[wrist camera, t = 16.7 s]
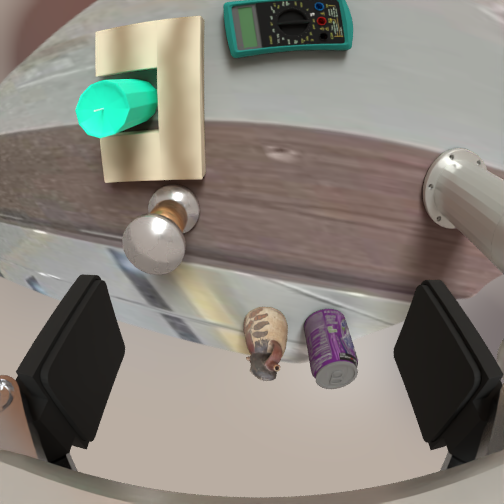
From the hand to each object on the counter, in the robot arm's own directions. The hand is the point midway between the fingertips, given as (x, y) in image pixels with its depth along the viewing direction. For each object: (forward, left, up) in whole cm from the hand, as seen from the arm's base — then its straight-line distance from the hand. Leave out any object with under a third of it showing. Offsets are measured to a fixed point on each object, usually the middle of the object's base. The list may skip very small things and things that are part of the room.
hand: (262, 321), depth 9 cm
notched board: (+13, -5, -33) cm, 36 cm away
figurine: (-2, +30, -34) cm, 45 cm away
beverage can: (-12, +30, -34) cm, 47 cm away
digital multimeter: (-3, -14, -34) cm, 37 cm away
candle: (+15, -5, -34) cm, 37 cm away
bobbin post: (+11, +10, -33) cm, 36 cm away
